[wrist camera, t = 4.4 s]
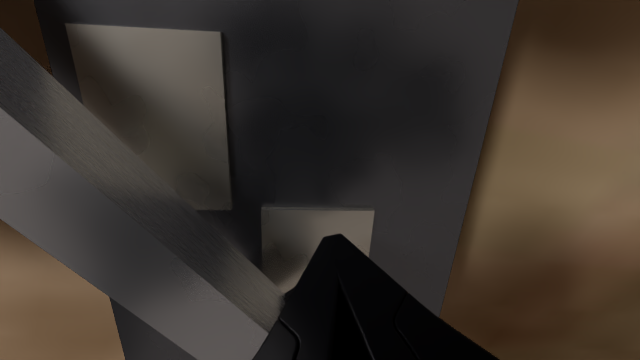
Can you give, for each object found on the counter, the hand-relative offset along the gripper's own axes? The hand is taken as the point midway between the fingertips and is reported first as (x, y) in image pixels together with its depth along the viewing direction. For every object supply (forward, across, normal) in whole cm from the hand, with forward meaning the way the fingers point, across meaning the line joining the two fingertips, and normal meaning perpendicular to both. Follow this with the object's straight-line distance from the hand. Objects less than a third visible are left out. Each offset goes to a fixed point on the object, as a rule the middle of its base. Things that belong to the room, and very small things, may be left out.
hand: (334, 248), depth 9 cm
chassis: (+4, +1, 0) cm, 4 cm away
